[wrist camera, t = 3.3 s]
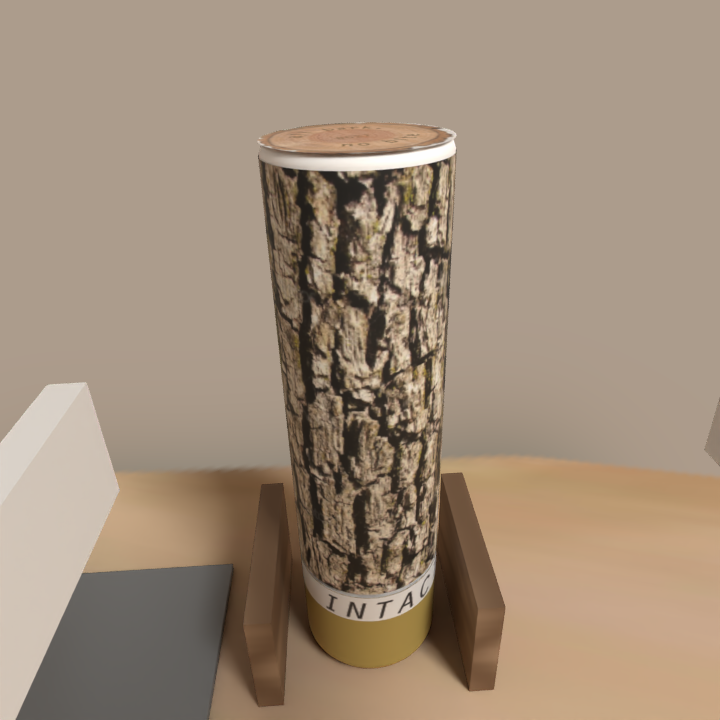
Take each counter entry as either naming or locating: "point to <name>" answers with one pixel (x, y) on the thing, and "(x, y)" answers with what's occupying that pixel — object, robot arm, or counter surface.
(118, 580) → the mat
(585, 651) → the counter surface
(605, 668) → the counter surface
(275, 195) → the paper tube
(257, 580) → the board
